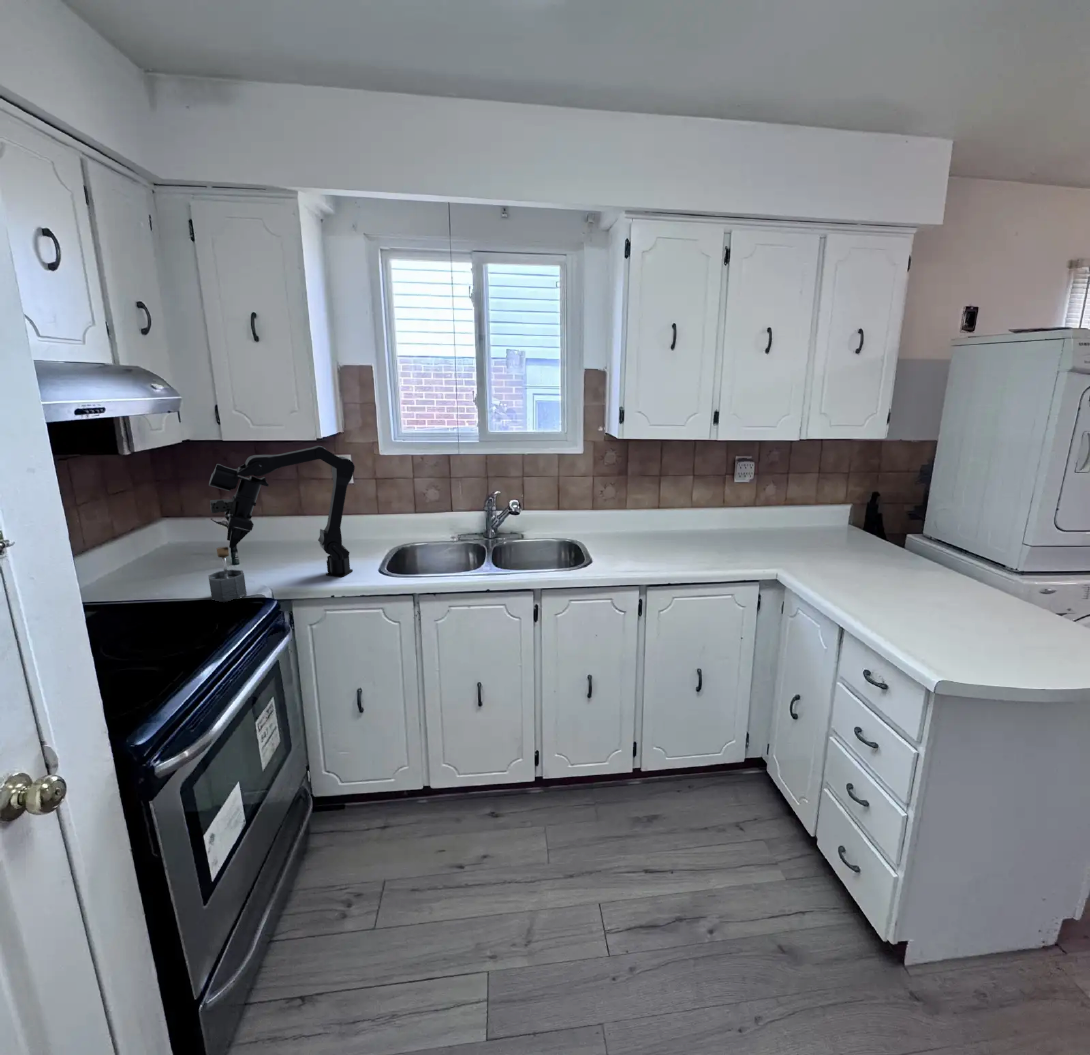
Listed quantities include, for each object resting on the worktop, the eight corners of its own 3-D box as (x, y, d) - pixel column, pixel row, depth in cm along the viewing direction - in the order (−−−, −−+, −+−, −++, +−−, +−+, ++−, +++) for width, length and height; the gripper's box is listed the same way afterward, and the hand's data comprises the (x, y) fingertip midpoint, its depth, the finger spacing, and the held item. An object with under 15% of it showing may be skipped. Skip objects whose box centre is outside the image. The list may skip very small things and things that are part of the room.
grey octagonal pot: (253, 592, 170) (250, 571, 168) (231, 603, 161) (228, 581, 160) (227, 590, 172) (224, 568, 170) (204, 601, 163) (200, 578, 161)
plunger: (244, 578, 168) (240, 545, 165) (228, 586, 162) (223, 552, 159) (225, 576, 169) (221, 544, 167) (209, 584, 163) (203, 550, 160)
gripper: (215, 482, 171) (198, 530, 171) (218, 493, 156) (200, 545, 156) (254, 493, 177) (238, 539, 178) (261, 504, 162) (243, 554, 163)
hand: (229, 544), depth 168 cm, fingers open, 9 cm apart
